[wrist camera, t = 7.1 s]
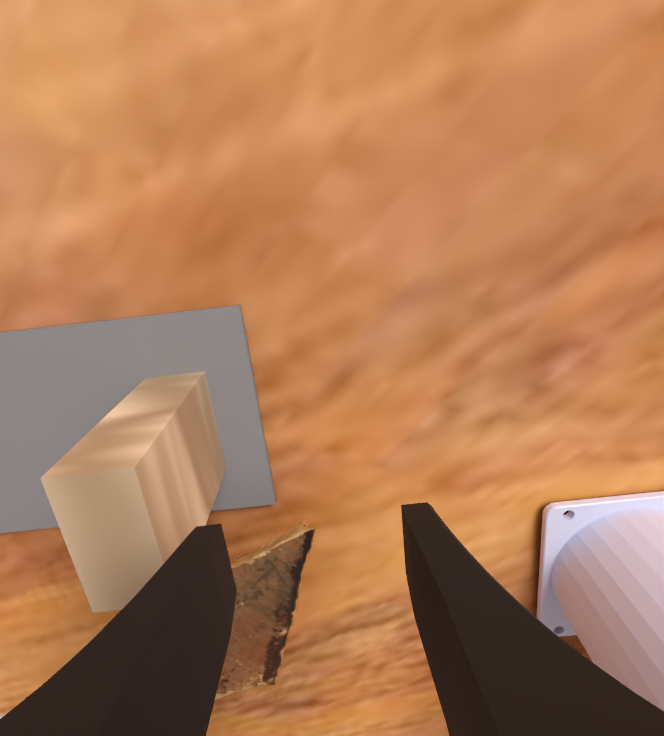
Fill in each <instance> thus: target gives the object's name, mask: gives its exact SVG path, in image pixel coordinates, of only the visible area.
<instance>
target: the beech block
mask: <svg viewBox="0 0 664 736" xmlns="http://www.w3.org/2000/svg"><path fill="white" fill-rule="evenodd" d="M225 472H226V464H225V460H224V455H223V451H222V446H221V442H220V437H219V433H218V428H217V424H216V419H215V415H214V410H213V406H212V401H211V397H210V392H209V388H208V383H207V379H206V374H205V372H196V373H187V374H178V375H170V376H161V377H152V378H145V379H144V380H143V381H142V382H141V383H140V384H139V385H138V386H137V387H136V388H135V389H134V390H132V391H131V392H130V393H129V394H128V395H127V396H126V397H125V398H124V399H123V400H122V401H121V402H120V403H119V404H118V405H117V406H116V407H115V408H114V409H112V410H111V411H110V412H109V413H108V414H107V415H106V416H105V417H104V418H103V419H102V420H101V421H100V422H99V423H98V424H97V425H96V426H95V427H94V428H92V429H91V430H90V431H89V432H88V433H87V434H86V435H85V436H84V437H83V438H82V439H81V440H80V441H79V442H78V443H77V444H76V445H75V446H74V447H73V448H71V449H70V450H69V451H68V452H67V453H66V454H65V455H64V456H63V457H62V458H61V459H60V460H59V461H58V462H57V463H56V464H55V465H54V466H53V467H51V468H50V469H49V470H48V471H47V472H46V473H45V474H44V475H43V476H42V477H41V478H40V479H41V482H42V484H43V487H44V489H45V492H46V494H47V497H48V499H49V502H50V505H51V507H52V510H53V512H54V515H55V517H56V520H57V523H58V525H59V528H60V530H61V533H62V535H63V538H64V541H65V543H66V546H67V548H68V551H69V553H70V556H71V559H72V561H73V564H74V566H75V569H76V571H77V574H78V576H79V579H80V582H81V584H82V587H83V589H84V592H85V594H86V597H87V600H88V602H89V605H90V607H91V610H92V612H93V613H98V612H107V611H117V610H122V609H123V608H124V607H125V606H126V605H127V604H128V603H129V602H130V601H131V600H132V599H133V597H134V596H135V595H136V594H137V593H138V592H139V591H140V590H141V589H142V588H143V586H144V585H145V584H146V583H147V582H148V581H149V580H150V579H151V578H152V576H153V575H154V574H155V573H156V572H157V571H158V570H159V568H160V567H161V566H162V565H163V564H164V563H165V562H166V560H167V559H168V558H169V557H170V556H171V555H172V553H173V552H174V551H175V550H176V549H177V548H178V547H179V545H180V544H181V543H182V542H183V541H184V540H185V538H186V537H187V536H188V535H189V534H190V533H191V532H192V531H193V529H194V528H195V527H197V526H205V525H206V523H207V520H208V517H209V515H210V512H211V509H212V506H213V504H214V501H215V498H216V496H217V493H218V490H219V488H220V485H221V482H222V480H223V477H224V474H225Z"/></svg>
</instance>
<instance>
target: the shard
mask: <svg viewBox="0 0 664 736" xmlns="http://www.w3.org/2000/svg"><path fill="white" fill-rule="evenodd" d="M314 531H315V528H311V527H307V523H306V520H305V521H303V522H301V523H300V524H298V525H297V526H295V527H293V528H291V529H289V530H288V531H286V532H284V533H281V534H280V535H278V536H277V537H275V538H273V539H272V540H270V541H269V542H268V543H266V544H265V545H263V546H261V547H260V548H258V549H257V550H255V551H253V552H252V553H249V554H248V555H246V556H244V557H242V558H239V559H237V560H236V561H235V562H233V563H230V564H231V568H232V572H233V576H234V581H235V585H236V589H237V592H236V600H235V608H234V616H233V623H232V630H231V636H230V640H229V644H228V648H227V653H226V657H225V661H224V665H223V669H222V673H221V677H220V681H219V685H218V689H217V693H216V697H215V701H216V700H218V699H220V698H223V697H225V696H227V695H229V694H231V693H236V692H238V691H242V690H247V689H249V688H251V687H257V686H259V685H275V683H276V681H277V679H278V674H279V667H280V665H281V662H282V659H283V653H284V649H285V646H286V643H287V638H288V633H289V631H290V627H291V625H292V622H293V618H294V615H295V612H296V607H297V602H298V598H299V594H300V590H301V582H302V571H303V568H304V563H305V561H306V557H307V554H308V553H309V551H310V549H311V547H312V541H313V537H314Z"/></svg>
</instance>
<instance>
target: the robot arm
mask: <svg viewBox="0 0 664 736" xmlns="http://www.w3.org/2000/svg"><path fill="white" fill-rule="evenodd" d="M401 508H402V523H403V537H404V551H405V565H406V575H407V581H408V586H409V591H410V596H411V601H412V606H413V611H414V616H415V620H416V623H417V627H418V630H419V633H420V637H421V640H422V643H423V647H424V650H425V654H426V657H427V660H428V664H429V667H430V670H431V673H432V677H433V680H434V683H435V687H436V690H437V693H438V697H439V700H440V703H441V707H442V710H443V713H444V717H445V720H446V724H447V727H448V731H449V735H450V736H664V491H660V492H650V493H640V494H631V495H621V496H612V497H602V498H592V499H583V500H573V501H564V502H554V503H550V504H549V505H547V506H546V507H545V508H544V510H543V516H542V533H541V550H540V567H539V584H538V601H537V618H536V617H535V616H534V615H532V614H531V613H530V612H529V611H528V610H527V609H526V608H525V607H523V606H522V605H521V604H520V603H519V602H518V601H517V600H516V599H515V598H514V597H513V596H512V595H510V594H509V593H508V592H507V591H506V590H505V589H504V588H503V587H502V586H501V585H500V584H499V583H498V582H497V581H496V580H495V579H494V578H493V577H492V576H491V575H490V574H489V573H488V572H487V571H486V570H485V569H484V568H483V567H482V566H481V564H480V563H479V562H478V561H477V560H476V559H475V558H474V557H473V556H472V555H471V554H470V553H469V552H468V550H467V549H466V548H465V547H464V546H463V545H462V544H461V543H460V541H459V540H458V539H457V538H456V537H455V535H454V534H453V533H452V532H451V531H450V529H449V528H448V527H447V526H446V525H445V523H444V522H443V521H442V519H441V518H440V517H439V516H438V514H437V513H436V512H435V510H434V509H433V507H432V506H431V505H430V504H428V503H427V502H426V503H417V504H407V505H401ZM566 511H569V512H568V513H567V514H564V513H565V512H566ZM563 514H564V515H563ZM236 592H237V589H236V585H235V581H234V576H233V572H232V568H231V564H230V560H229V555H228V551H227V547H226V543H225V539H224V534H223V530H222V526H221V524H216V525H206V526H197V527H195V528H194V529H193V531H192V532H191V533H190V534H189V535H188V536H187V537H186V538H185V540H184V541H183V542H182V543H181V544H180V545H179V547H178V548H177V549H176V550H175V551H174V552H173V553H172V555H171V556H170V557H169V558H168V559H167V560H166V562H165V563H164V564H163V565H162V566H161V567H160V568H159V570H158V571H157V572H156V573H155V574H154V575H153V576H152V578H151V579H150V580H149V581H148V582H147V583H146V584H145V585H144V586H143V588H142V589H141V590H140V591H139V592H138V593H137V594H136V595H135V596H134V597H133V599H132V600H131V601H130V602H129V603H128V604H127V605H126V606H125V607H124V608H123V609H122V610H121V611H120V612H119V613H118V614H117V615H116V616H115V617H114V618H113V619H112V620H111V621H110V622H109V623H108V624H107V625H106V626H105V627H104V628H103V630H102V631H101V632H100V633H99V634H98V635H97V636H96V637H95V638H93V639H92V640H91V641H90V642H89V643H88V644H87V645H86V646H85V647H84V648H83V649H82V650H81V651H80V652H79V653H78V654H77V655H76V656H74V657H73V658H72V659H71V660H70V661H69V662H68V663H67V664H66V665H64V666H63V667H62V668H61V669H60V670H59V671H58V672H57V673H56V674H54V675H53V676H52V677H51V678H50V679H49V680H48V681H46V682H45V683H44V684H43V685H42V686H41V687H39V688H38V689H37V690H36V691H35V692H33V693H32V694H31V695H30V696H28V697H27V698H26V699H25V700H23V701H22V702H21V703H20V704H19V705H17V706H16V707H15V708H14V709H12V710H11V711H10V712H9V713H7V714H6V715H5V716H4V717H2V718H1V719H0V736H206V732H207V728H208V724H209V720H210V716H211V712H212V708H213V704H214V701H215V697H216V693H217V689H218V685H219V681H220V677H221V673H222V669H223V665H224V661H225V657H226V653H227V648H228V644H229V640H230V636H231V630H232V623H233V616H234V608H235V600H236ZM572 635H577V636H578V638H579V640H580V641H581V643H582V645H583V646H584V648H585V650H586V652H587V653H588V655H589V657H590V658H591V660H592V662H591V661H590V660H588V659H587V658H586V657H584V656H583V655H581V654H580V653H579V652H578V651H576V650H575V649H574V648H573V647H571V646H570V645H569V644H568V643H566V642H565V641H564V640H562V639H561V638H560V637H562V636H572Z"/></svg>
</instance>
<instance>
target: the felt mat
mask: <svg viewBox="0 0 664 736" xmlns="http://www.w3.org/2000/svg"><path fill="white" fill-rule="evenodd" d="M196 372H205V374H206V379H207V383H208V388H209V392H210V397H211V401H212V406H213V410H214V415H215V419H216V424H217V428H218V433H219V437H220V442H221V446H222V451H223V455H224V460H225V464H226V472H225V474H224V477H223V480H222V482H221V485H220V488H219V490H218V493H217V496H216V498H215V501H214V504H213V506H212V509H211V511H218V510H227V509H237V508H246V507H256V506H265V505H275V504H276V496H275V490H274V485H273V479H272V474H271V468H270V463H269V457H268V452H267V446H266V441H265V436H264V430H263V425H262V419H261V414H260V408H259V403H258V397H257V392H256V386H255V381H254V375H253V370H252V364H251V359H250V354H249V348H248V343H247V337H246V332H245V326H244V321H243V315H242V310H241V305H235V306H226V307H217V308H208V309H200V310H191V311H182V312H173V313H165V314H156V315H147V316H138V317H130V318H121V319H112V320H104V321H95V322H86V323H77V324H69V325H60V326H51V327H42V328H34V329H25V330H16V331H7V332H0V533H9V532H18V531H28V530H37V529H47V528H56V527H59V525H58V523H57V520H56V517H55V515H54V512H53V510H52V507H51V505H50V502H49V499H48V497H47V494H46V492H45V489H44V487H43V484H42V482H41V479H40V478H41V477H42V476H43V475H44V474H45V473H46V472H47V471H48V470H49V469H50V468H51V467H53V466H54V465H55V464H56V463H57V462H58V461H59V460H60V459H61V458H62V457H63V456H64V455H65V454H66V453H67V452H68V451H69V450H70V449H71V448H73V447H74V446H75V445H76V444H77V443H78V442H79V441H80V440H81V439H82V438H83V437H84V436H85V435H86V434H87V433H88V432H89V431H90V430H91V429H92V428H94V427H95V426H96V425H97V424H98V423H99V422H100V421H101V420H102V419H103V418H104V417H105V416H106V415H107V414H108V413H109V412H110V411H111V410H112V409H114V408H115V407H116V406H117V405H118V404H119V403H120V402H121V401H122V400H123V399H124V398H125V397H126V396H127V395H128V394H129V393H130V392H131V391H132V390H134V389H135V388H136V387H137V386H138V385H139V384H140V383H141V382H142V381H143V380H144V379H145V378H152V377H161V376H170V375H178V374H187V373H196Z"/></svg>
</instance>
